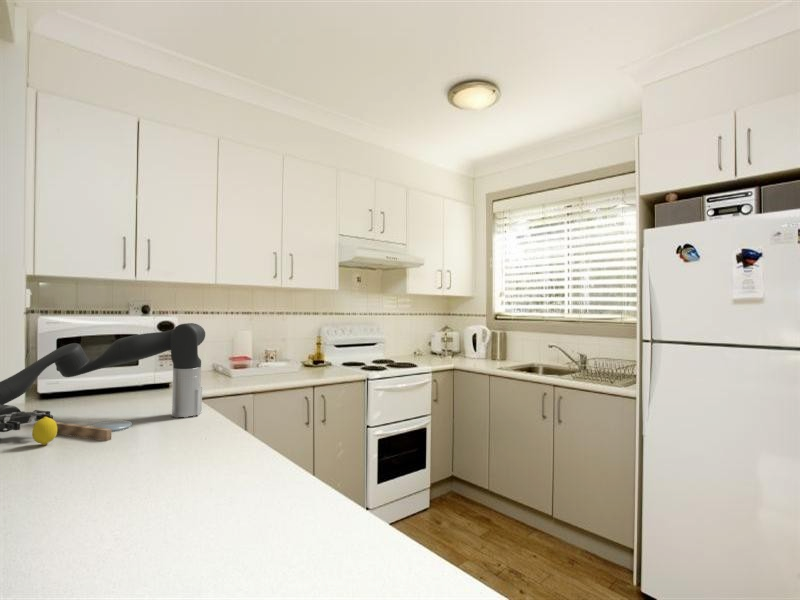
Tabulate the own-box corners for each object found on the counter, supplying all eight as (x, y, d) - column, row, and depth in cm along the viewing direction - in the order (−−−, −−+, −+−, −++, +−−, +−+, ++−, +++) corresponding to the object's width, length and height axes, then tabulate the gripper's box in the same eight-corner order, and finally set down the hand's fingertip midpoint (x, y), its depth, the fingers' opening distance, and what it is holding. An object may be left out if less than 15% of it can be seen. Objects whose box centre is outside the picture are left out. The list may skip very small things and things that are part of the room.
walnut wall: (49, 432, 137) (49, 422, 137) (54, 431, 139) (54, 421, 139) (106, 440, 130) (106, 430, 130) (111, 439, 131) (111, 429, 131)
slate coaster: (137, 422, 150) (137, 420, 150) (122, 432, 139) (122, 429, 139) (97, 423, 148) (97, 421, 148) (79, 433, 136) (79, 431, 136)
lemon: (42, 449, 122) (43, 419, 122) (26, 447, 123) (27, 418, 123) (62, 443, 127) (62, 415, 127) (46, 441, 128) (46, 413, 128)
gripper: (-32, 409, 125) (7, 414, 120) (24, 400, 138) (62, 404, 133) (-33, 436, 124) (6, 442, 119) (24, 424, 138) (61, 429, 133)
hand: (35, 422), depth 126 cm, fingers open, 8 cm apart
